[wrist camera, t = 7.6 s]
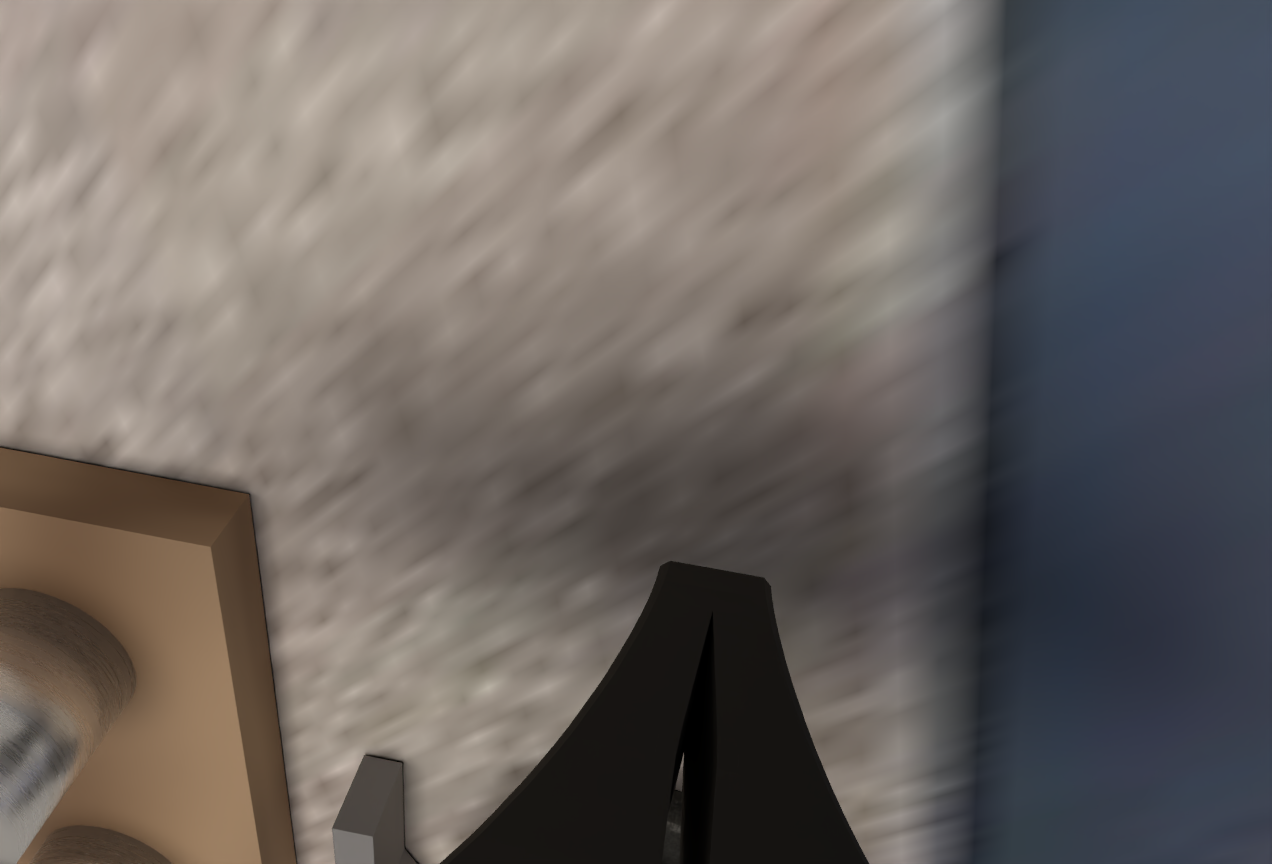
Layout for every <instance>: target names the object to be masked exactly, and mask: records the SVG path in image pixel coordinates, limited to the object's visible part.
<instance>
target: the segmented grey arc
mask: <svg viewBox="0 0 1272 864" xmlns="http://www.w3.org/2000/svg"><path fill="white" fill-rule="evenodd" d="M332 832H333V843H334V854H335V864H417V863H416V862H415V861H414V860H413V858H412V857H411V856H410V855H409V853H408V852H407V851H406V850H405V849H404V808H403V767H402V763H400V762H395V761H390V760H385V759H380V758H375V757H370V756H365V755H364V757H363V759H362V762H361V764H360V766H359V768H358V771H357V773H356V775H355V778H354V780H353V782H352V784H351V787H350V789H349V791H348V793H347V796H346V798H345V800H344V803H343V805H342V807H341V809H340V812H339V814H338V816H337V819H336V821H335V823H334V825H333V828H332Z"/></svg>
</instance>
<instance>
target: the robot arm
mask: <svg viewBox="0 0 1272 864" xmlns="http://www.w3.org/2000/svg"><path fill="white" fill-rule="evenodd" d="M683 753H684V765H683V786H682V808H681V831H680V854H679V864H869V862H868V861H867V859H866V857H865V855H864V853H863V851H862V850H861V848H860V846H859V844H858V842H857V840H856V838H855V836H854V834H853V832H852V830H851V828H850V826H849V824H848V822H847V820H846V818H845V816H844V814H843V811H842V809H841V807H840V805H839V803H838V801H837V798H836V796H835V794H834V792H833V789H832V787H831V785H830V783H829V780H828V778H827V776H826V773H825V771H824V768H823V766H822V764H821V761H820V759H819V756H818V754H817V751H816V749H815V746H814V744H813V741H812V738H811V736H810V733H809V730H808V728H807V725H806V722H805V719H804V717H803V714H802V711H801V708H800V705H799V702H798V699H797V696H796V693H795V690H794V687H793V684H792V681H791V677H790V674H789V671H788V667H787V664H786V660H785V656H784V652H783V649H782V645H781V641H780V637H779V633H778V628H777V624H776V619H775V614H774V608H773V602H772V594H771V586H770V585H769V583H768V582H767V581H766V580H765V578H763V577H757V576H752V575H746V574H740V573H735V572H729V571H724V570H718V569H712V568H707V567H701V566H696V565H690V564H684V563H679V562H673V561H669V562H667V563H665V564H663V565H661V566H660V569H659V572H658V576H657V579H656V582H655V584H654V587H653V589H652V592H651V594H650V597H649V599H648V601H647V603H646V605H645V607H644V609H643V612H642V614H641V615H640V617H639V619H638V621H637V623H636V625H635V627H634V629H633V630H632V632H631V634H630V636H629V638H628V639H627V641H626V642H625V644H624V646H623V647H622V649H621V651H620V652H619V654H618V656H617V657H616V659H615V660H614V662H613V664H612V665H611V667H610V669H609V670H608V672H607V673H606V675H605V676H604V678H603V679H602V681H601V682H600V684H599V685H598V687H597V688H596V689H595V691H594V692H593V694H592V695H591V696H590V698H589V699H588V701H587V702H586V703H585V705H584V706H583V708H582V709H581V710H580V712H579V713H578V715H577V716H576V717H575V719H574V720H573V722H572V723H571V724H570V725H569V727H568V728H567V729H566V731H565V732H564V733H563V734H562V736H561V737H560V738H559V740H558V741H557V742H556V743H555V745H554V746H553V747H552V748H551V749H550V751H549V752H548V753H547V754H546V755H545V757H544V758H543V759H542V760H541V761H540V762H539V764H538V765H537V766H536V767H535V768H534V769H533V771H532V772H531V773H530V774H529V775H528V776H527V778H526V779H525V780H524V781H523V782H522V783H521V784H520V785H519V786H518V787H517V788H516V789H515V791H514V792H513V793H512V794H511V795H510V796H509V797H508V798H507V799H506V800H505V801H504V802H503V803H502V804H501V805H500V807H499V808H498V809H497V810H496V811H495V812H494V813H493V814H492V815H491V816H490V817H489V818H488V819H487V820H486V821H485V822H484V823H483V824H482V825H481V826H480V827H479V828H478V829H477V830H476V831H475V832H474V833H473V834H472V835H471V836H470V837H469V838H467V839H466V840H465V841H464V842H463V843H462V844H461V845H460V846H459V847H458V848H456V849H455V850H454V851H453V852H452V853H451V854H450V855H449V856H448V857H447V858H445V859H444V860H443V861H442V862H441V863H440V864H662V857H663V849H664V841H665V834H666V826H667V819H668V814H669V810H670V806H671V802H672V798H673V794H674V790H675V786H676V782H677V778H678V773H679V769H680V765H681V761H682V757H683Z"/></svg>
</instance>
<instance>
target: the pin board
mask: <svg viewBox="0 0 1272 864" xmlns="http://www.w3.org/2000/svg"><path fill="white" fill-rule="evenodd" d="M0 864H296V857H295V849H294V841H293V834H292V826H291V818H290V810H289V802H288V794H287V787H286V779H285V771H284V763H283V755H282V748H281V740H280V732H279V724H278V716H277V709H276V701H275V693H274V685H273V677H272V670H271V662H270V654H269V646H268V638H267V630H266V623H265V615H264V607H263V599H262V591H261V584H260V576H259V568H258V560H257V552H256V545H255V537H254V529H253V521H252V513H251V506H250V498H249V494H245V493H240V492H234V491H229V490H224V489H218V488H213V487H208V486H202V485H197V484H192V483H186V482H181V481H176V480H170V479H165V478H160V477H154V476H149V475H144V474H138V473H133V472H128V471H122V470H117V469H112V468H106V467H101V466H96V465H90V464H85V463H80V462H74V461H69V460H64V459H58V458H53V457H48V456H42V455H37V454H32V453H26V452H21V451H16V450H10V449H5V448H0Z"/></svg>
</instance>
